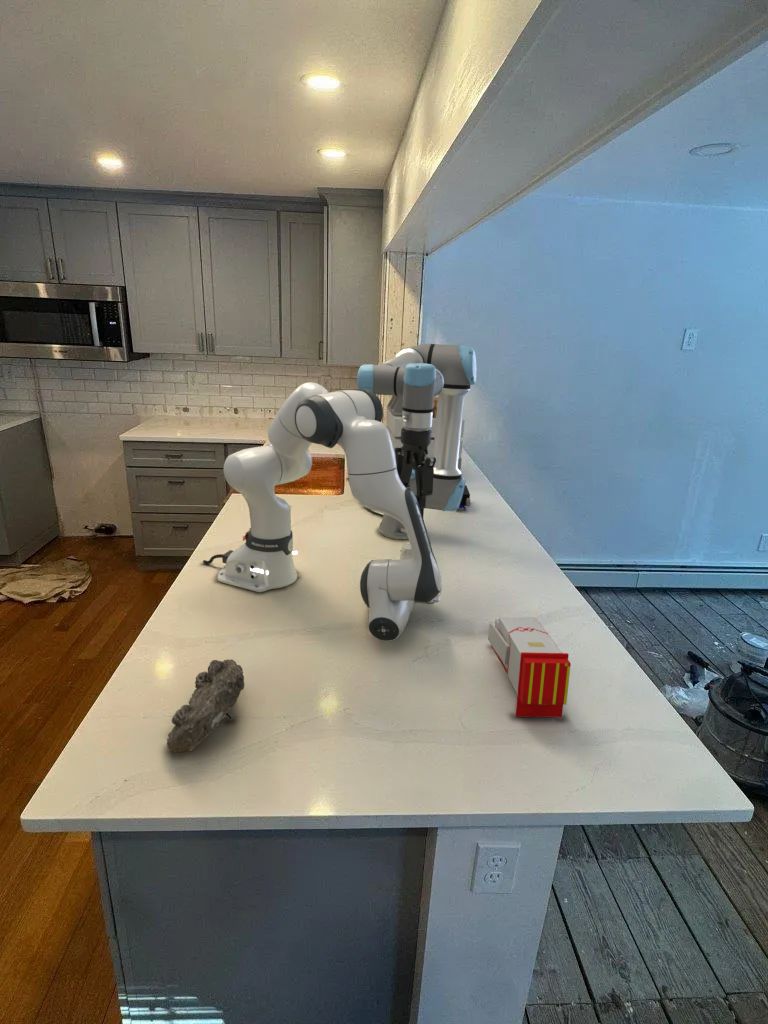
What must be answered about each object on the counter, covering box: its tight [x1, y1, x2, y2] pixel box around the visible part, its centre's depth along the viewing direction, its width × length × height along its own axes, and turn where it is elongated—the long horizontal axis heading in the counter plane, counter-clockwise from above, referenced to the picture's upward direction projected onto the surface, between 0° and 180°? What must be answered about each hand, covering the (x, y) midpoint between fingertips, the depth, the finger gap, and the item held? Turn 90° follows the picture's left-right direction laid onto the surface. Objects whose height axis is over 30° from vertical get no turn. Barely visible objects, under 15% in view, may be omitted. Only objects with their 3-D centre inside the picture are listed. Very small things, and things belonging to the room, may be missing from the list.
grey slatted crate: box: [385, 395, 465, 472], centre depth 268 cm, size 34×33×41 cm
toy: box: [487, 616, 572, 718], centre depth 123 cm, size 12×13×30 cm
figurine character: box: [456, 484, 471, 512], centre depth 229 cm, size 7×8×15 cm
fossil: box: [166, 658, 245, 754], centre depth 106 cm, size 22×10×15 cm
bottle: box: [399, 543, 414, 559], centre depth 154 cm, size 4×4×15 cm
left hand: (407, 574), depth 155 cm, fingers closed on bottle, 4 cm apart
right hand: (411, 515), depth 148 cm, fingers closed on lid, 5 cm apart
